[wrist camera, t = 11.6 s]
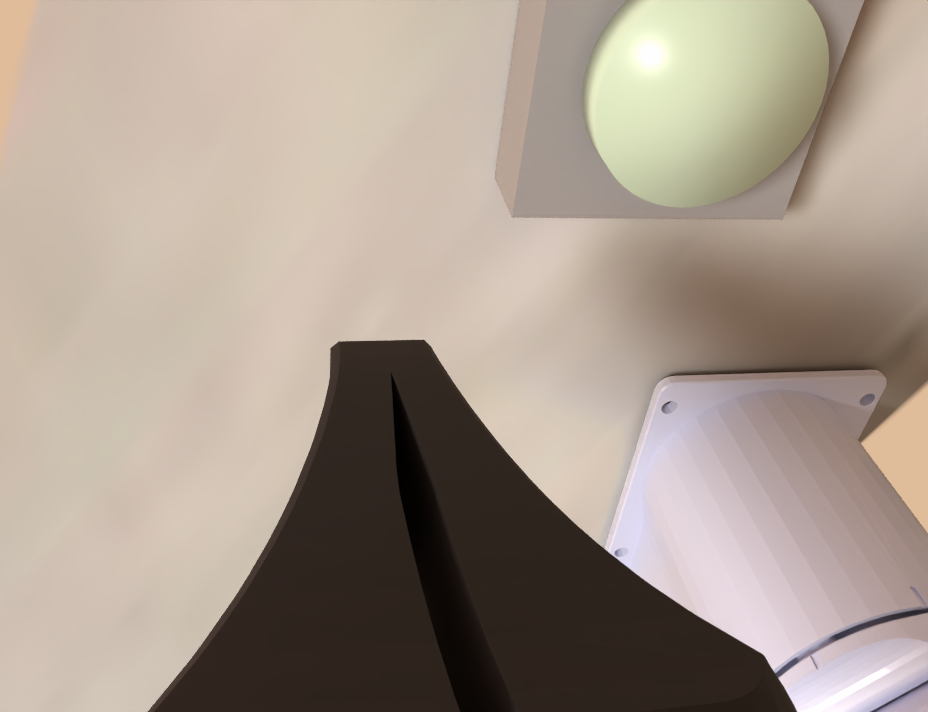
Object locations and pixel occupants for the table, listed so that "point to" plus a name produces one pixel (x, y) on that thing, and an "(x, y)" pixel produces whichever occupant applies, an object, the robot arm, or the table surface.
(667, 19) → the button
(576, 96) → the button housing
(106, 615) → the table surface
